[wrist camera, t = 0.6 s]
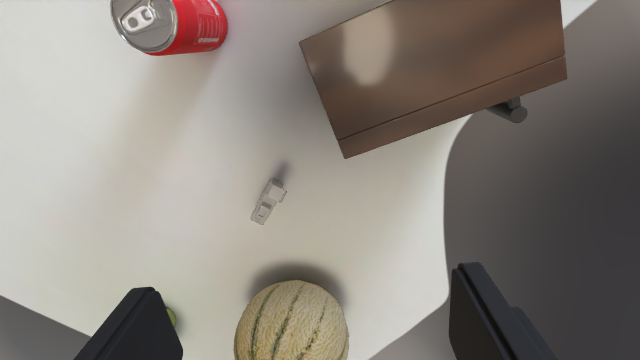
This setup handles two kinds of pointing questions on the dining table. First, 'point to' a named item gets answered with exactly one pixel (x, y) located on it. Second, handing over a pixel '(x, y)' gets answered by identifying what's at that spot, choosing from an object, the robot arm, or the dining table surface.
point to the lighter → (268, 201)
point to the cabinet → (431, 64)
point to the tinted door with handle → (510, 110)
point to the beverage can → (170, 25)
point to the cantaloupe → (292, 325)
